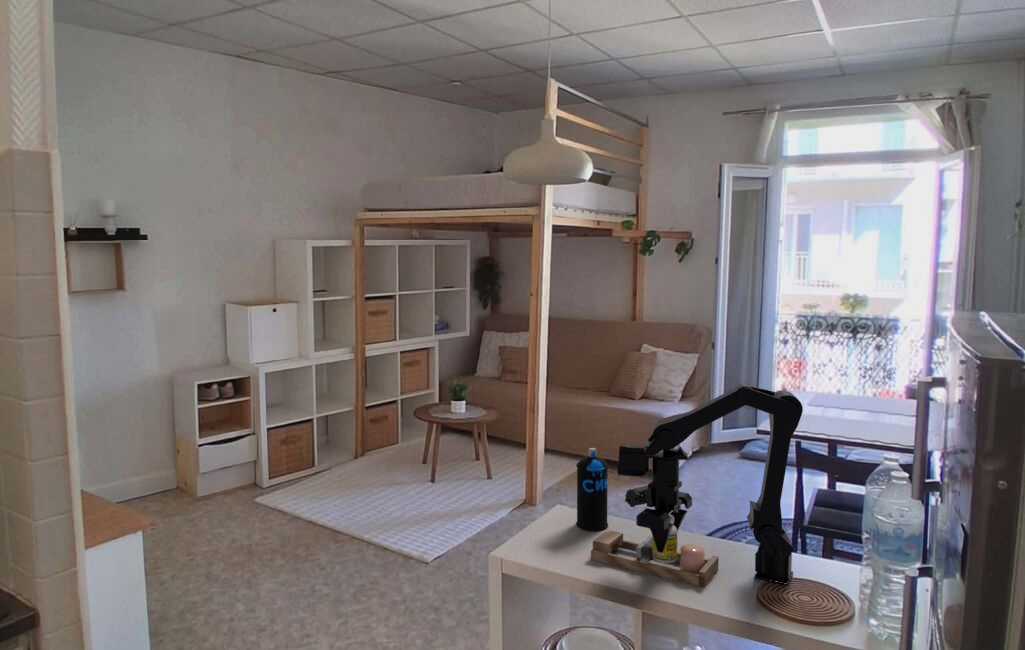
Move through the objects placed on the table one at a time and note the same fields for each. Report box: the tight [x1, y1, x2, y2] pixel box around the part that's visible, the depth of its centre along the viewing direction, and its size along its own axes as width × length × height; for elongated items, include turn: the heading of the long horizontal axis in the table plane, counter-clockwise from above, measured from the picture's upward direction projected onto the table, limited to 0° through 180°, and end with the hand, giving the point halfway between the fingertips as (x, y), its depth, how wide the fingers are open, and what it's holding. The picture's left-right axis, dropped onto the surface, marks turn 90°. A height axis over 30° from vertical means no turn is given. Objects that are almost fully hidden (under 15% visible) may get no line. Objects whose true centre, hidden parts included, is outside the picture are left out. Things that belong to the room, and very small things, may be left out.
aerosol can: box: [575, 447, 610, 532], centre depth 177 cm, size 8×8×20 cm
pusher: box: [616, 536, 653, 563], centre depth 156 cm, size 7×7×4 cm
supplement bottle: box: [651, 514, 678, 564], centre depth 152 cm, size 5×5×10 cm
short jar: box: [679, 544, 706, 574], centre depth 149 cm, size 5×5×6 cm
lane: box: [590, 529, 719, 588], centre depth 154 cm, size 26×10×4 cm, turn 57°
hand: (665, 547), depth 152 cm, fingers closed on supplement bottle, 5 cm apart
